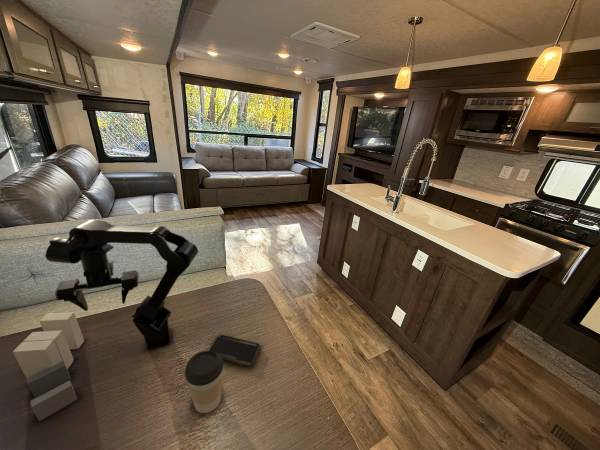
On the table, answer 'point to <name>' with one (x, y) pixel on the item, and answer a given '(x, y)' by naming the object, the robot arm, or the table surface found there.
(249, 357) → the phone
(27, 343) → the white books
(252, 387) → the table surface
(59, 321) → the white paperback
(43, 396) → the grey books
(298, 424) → the table surface
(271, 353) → the table surface
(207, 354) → the coffee cup
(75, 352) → the table surface
